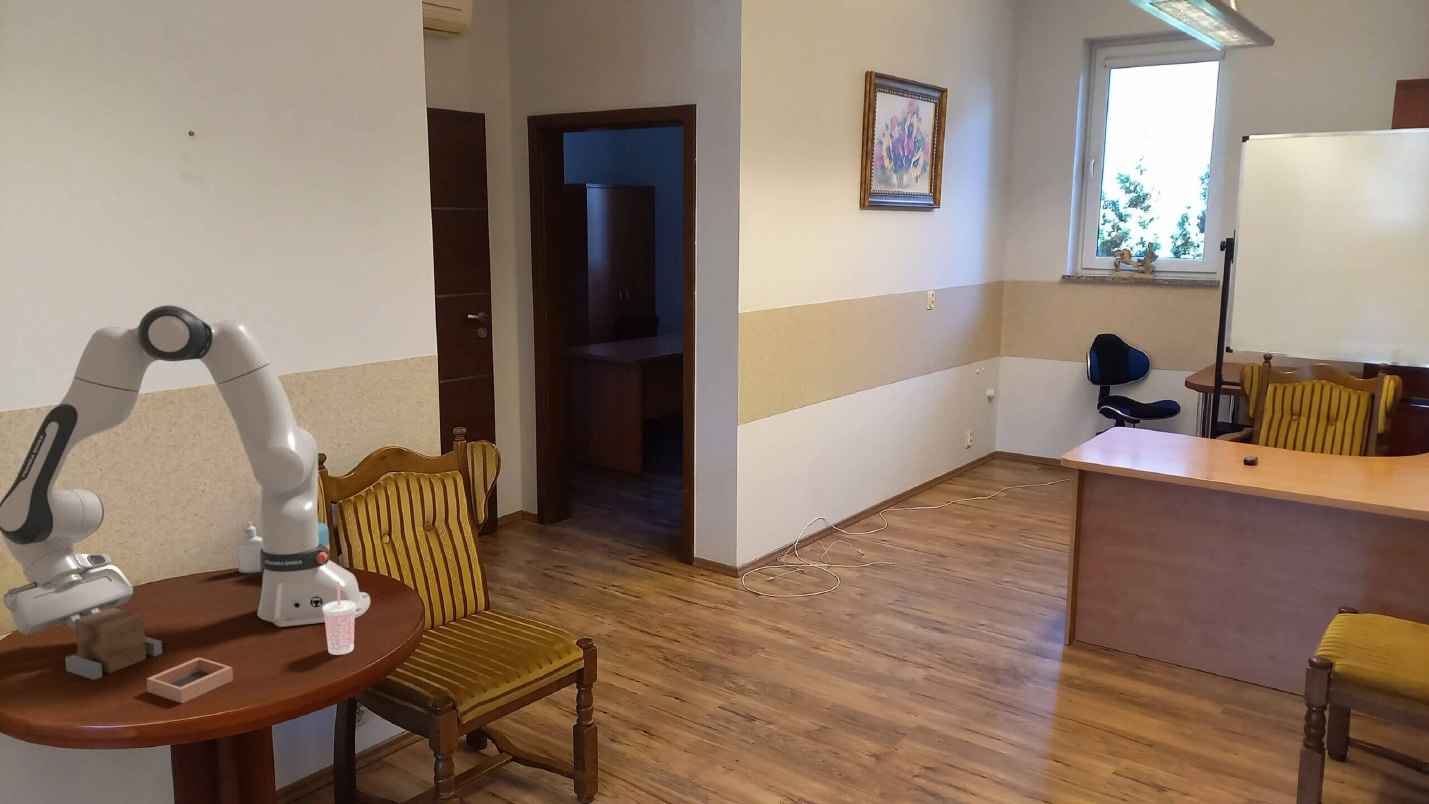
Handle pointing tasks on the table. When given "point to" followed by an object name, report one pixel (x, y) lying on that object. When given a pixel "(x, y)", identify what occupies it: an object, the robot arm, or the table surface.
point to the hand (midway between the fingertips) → (94, 634)
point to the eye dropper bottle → (249, 551)
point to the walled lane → (95, 669)
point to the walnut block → (111, 638)
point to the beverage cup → (339, 625)
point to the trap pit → (189, 680)
